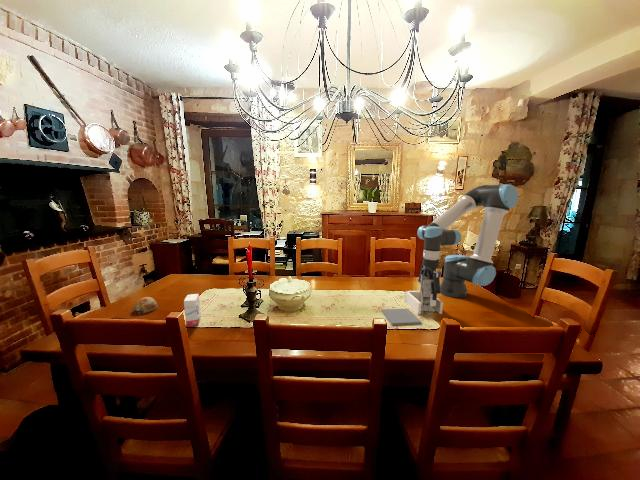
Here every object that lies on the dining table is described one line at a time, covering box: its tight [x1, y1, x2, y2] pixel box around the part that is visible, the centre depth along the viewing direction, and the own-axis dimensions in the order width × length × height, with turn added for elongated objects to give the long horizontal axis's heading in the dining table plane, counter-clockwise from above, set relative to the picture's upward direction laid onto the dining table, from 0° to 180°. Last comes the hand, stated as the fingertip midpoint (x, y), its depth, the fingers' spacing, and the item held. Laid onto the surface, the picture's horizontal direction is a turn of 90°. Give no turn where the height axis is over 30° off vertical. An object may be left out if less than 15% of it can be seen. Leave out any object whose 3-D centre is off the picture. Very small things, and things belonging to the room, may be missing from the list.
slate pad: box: [381, 308, 422, 326], centre depth 126 cm, size 14×14×1 cm
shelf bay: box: [404, 290, 444, 315], centre depth 137 cm, size 12×16×6 cm
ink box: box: [183, 293, 202, 327], centre depth 118 cm, size 9×5×12 cm, turn 16°
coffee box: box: [419, 274, 436, 313], centre depth 132 cm, size 9×6×16 cm
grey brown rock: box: [132, 296, 158, 315], centre depth 131 cm, size 10×10×8 cm
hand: (427, 301), depth 132 cm, fingers closed on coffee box, 10 cm apart
